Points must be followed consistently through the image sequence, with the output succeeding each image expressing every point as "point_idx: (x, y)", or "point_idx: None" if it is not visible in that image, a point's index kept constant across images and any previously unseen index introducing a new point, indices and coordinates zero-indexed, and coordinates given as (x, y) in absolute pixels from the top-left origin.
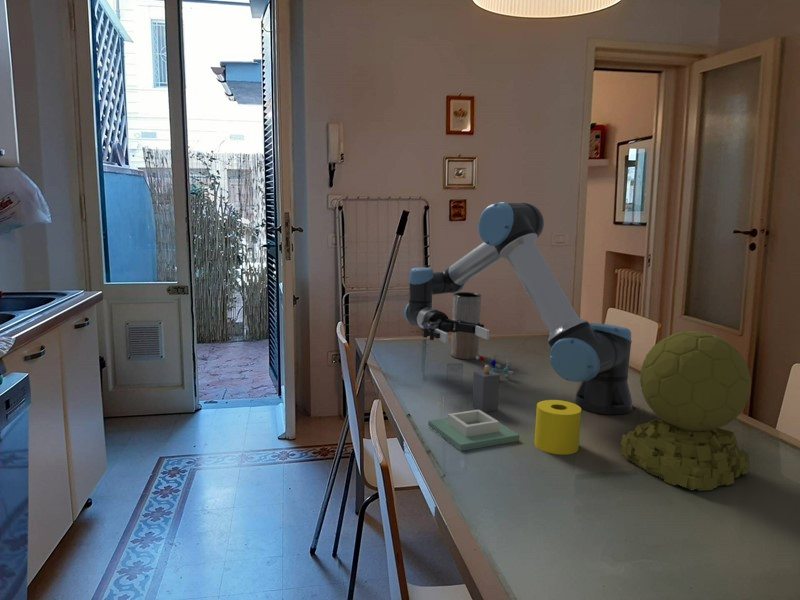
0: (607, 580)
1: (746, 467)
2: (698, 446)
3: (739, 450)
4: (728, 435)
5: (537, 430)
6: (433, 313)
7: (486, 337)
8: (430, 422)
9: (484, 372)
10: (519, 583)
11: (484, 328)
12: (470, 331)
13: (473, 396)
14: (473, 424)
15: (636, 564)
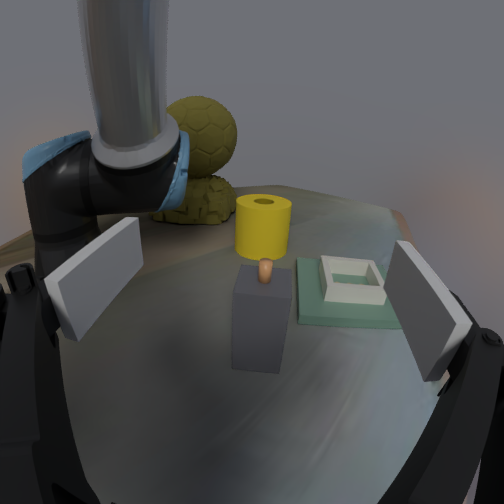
0: (346, 200)
1: None
2: (218, 176)
3: None
4: None
5: (288, 233)
6: None
7: (140, 256)
8: None
9: (270, 280)
10: (384, 209)
11: (98, 237)
12: (58, 366)
13: (282, 352)
14: (361, 261)
15: (326, 199)
